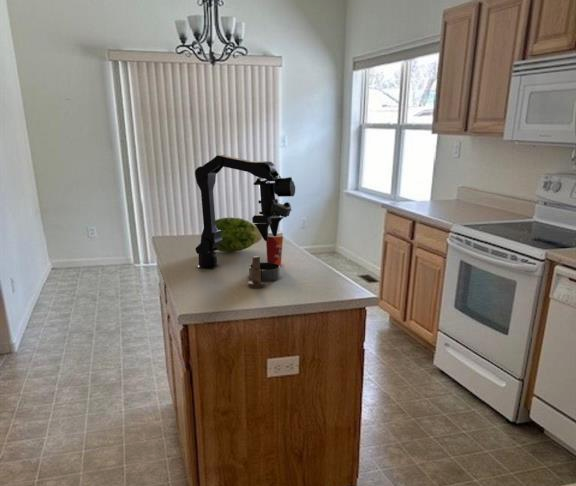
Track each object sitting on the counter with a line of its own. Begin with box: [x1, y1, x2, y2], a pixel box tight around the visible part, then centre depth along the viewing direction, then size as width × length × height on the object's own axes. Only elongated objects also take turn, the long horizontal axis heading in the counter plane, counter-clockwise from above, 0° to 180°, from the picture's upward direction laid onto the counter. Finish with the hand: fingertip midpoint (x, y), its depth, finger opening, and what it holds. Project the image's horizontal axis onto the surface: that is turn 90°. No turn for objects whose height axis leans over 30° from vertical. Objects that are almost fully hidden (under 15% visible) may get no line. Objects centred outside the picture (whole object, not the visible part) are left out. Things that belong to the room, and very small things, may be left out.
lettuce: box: [215, 216, 263, 253], centre depth 244 cm, size 15×27×16 cm, turn 112°
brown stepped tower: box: [248, 255, 265, 289], centre depth 193 cm, size 6×6×11 cm
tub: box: [248, 261, 281, 283], centre depth 205 cm, size 12×12×4 cm
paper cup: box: [265, 230, 285, 267], centre depth 221 cm, size 8×8×14 cm
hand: (270, 238), depth 205 cm, fingers open, 9 cm apart
